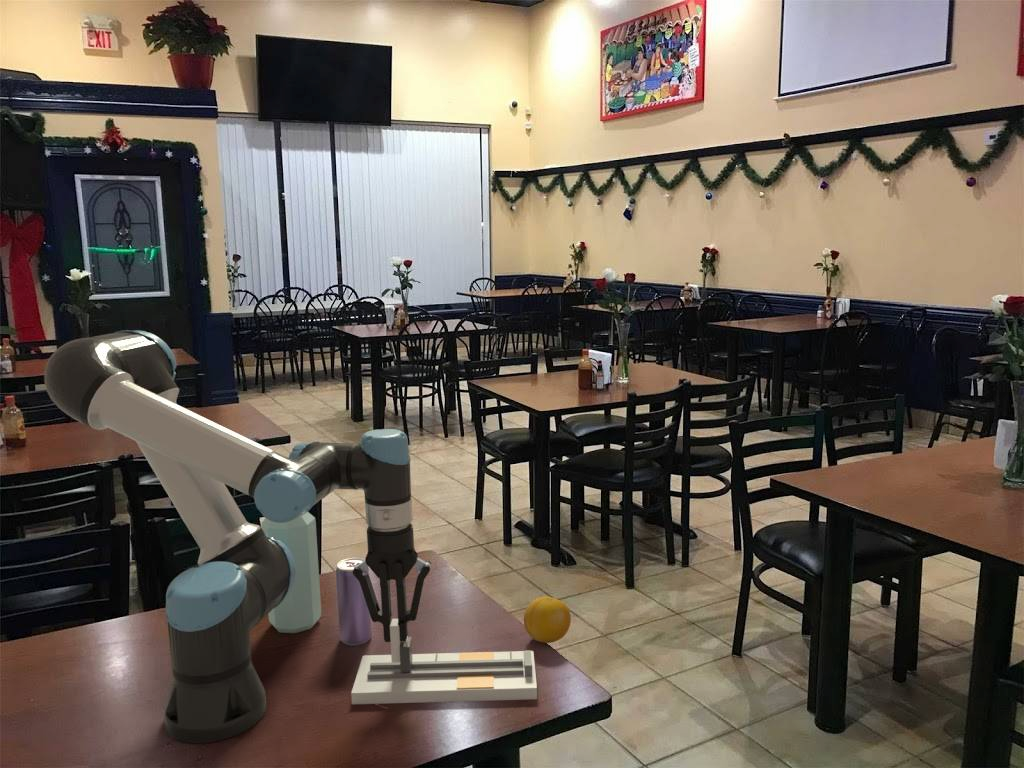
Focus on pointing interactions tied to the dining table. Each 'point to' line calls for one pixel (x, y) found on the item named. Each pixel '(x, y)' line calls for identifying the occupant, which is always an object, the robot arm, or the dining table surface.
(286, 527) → the water bottle
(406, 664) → the fader
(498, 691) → the console
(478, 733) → the dining table surface
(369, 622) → the beverage can
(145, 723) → the dining table surface
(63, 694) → the dining table surface
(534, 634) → the fruit
